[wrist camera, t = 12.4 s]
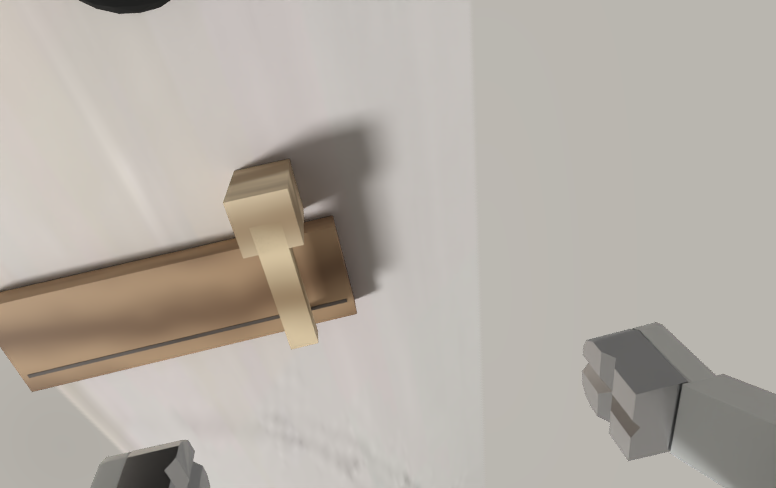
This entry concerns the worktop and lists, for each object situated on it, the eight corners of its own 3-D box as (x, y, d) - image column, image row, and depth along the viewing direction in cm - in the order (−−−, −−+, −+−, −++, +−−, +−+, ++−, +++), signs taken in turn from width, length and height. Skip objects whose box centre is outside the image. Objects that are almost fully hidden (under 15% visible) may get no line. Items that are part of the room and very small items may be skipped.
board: (-11, 294, 38) (-27, 310, 36) (332, 215, 39) (334, 226, 37) (43, 374, 41) (31, 392, 40) (354, 300, 43) (356, 314, 41)
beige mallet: (234, 170, 36) (222, 202, 31) (289, 158, 36) (287, 188, 31) (280, 306, 42) (277, 352, 37) (327, 294, 42) (331, 339, 37)
